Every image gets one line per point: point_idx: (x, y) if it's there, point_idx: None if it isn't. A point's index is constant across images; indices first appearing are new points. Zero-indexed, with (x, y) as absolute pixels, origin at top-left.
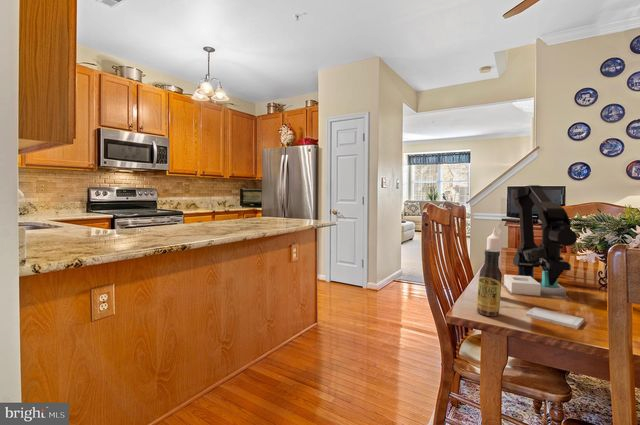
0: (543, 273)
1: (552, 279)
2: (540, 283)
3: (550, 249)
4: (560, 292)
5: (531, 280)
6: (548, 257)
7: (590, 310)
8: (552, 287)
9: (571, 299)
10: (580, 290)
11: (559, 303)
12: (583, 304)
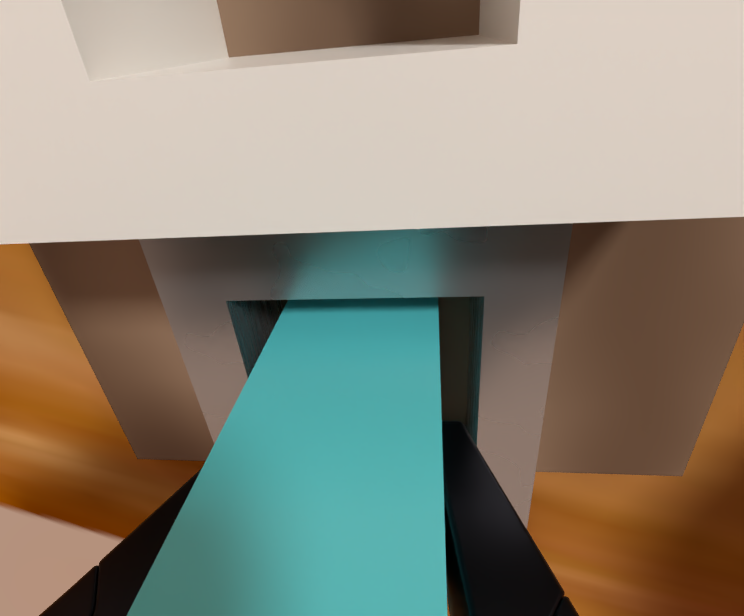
0: (303, 577)
1: None
2: (481, 319)
3: None
4: None
5: (214, 105)
6: None
7: (18, 473)
8: (227, 415)
9: (154, 453)
10: (667, 608)
11: (46, 323)
12: (168, 487)
